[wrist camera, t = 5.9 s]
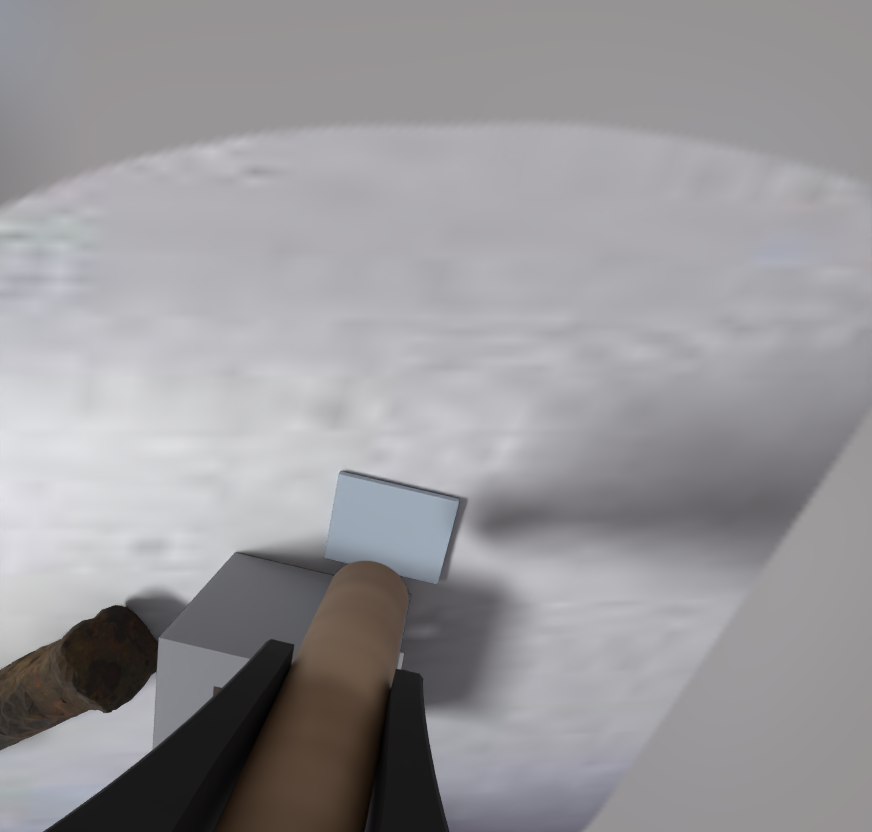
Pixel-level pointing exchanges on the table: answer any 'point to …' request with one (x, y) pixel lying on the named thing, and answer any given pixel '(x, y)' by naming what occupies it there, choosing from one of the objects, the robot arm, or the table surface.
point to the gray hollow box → (232, 632)
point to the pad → (390, 526)
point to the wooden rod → (327, 714)
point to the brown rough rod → (77, 674)
